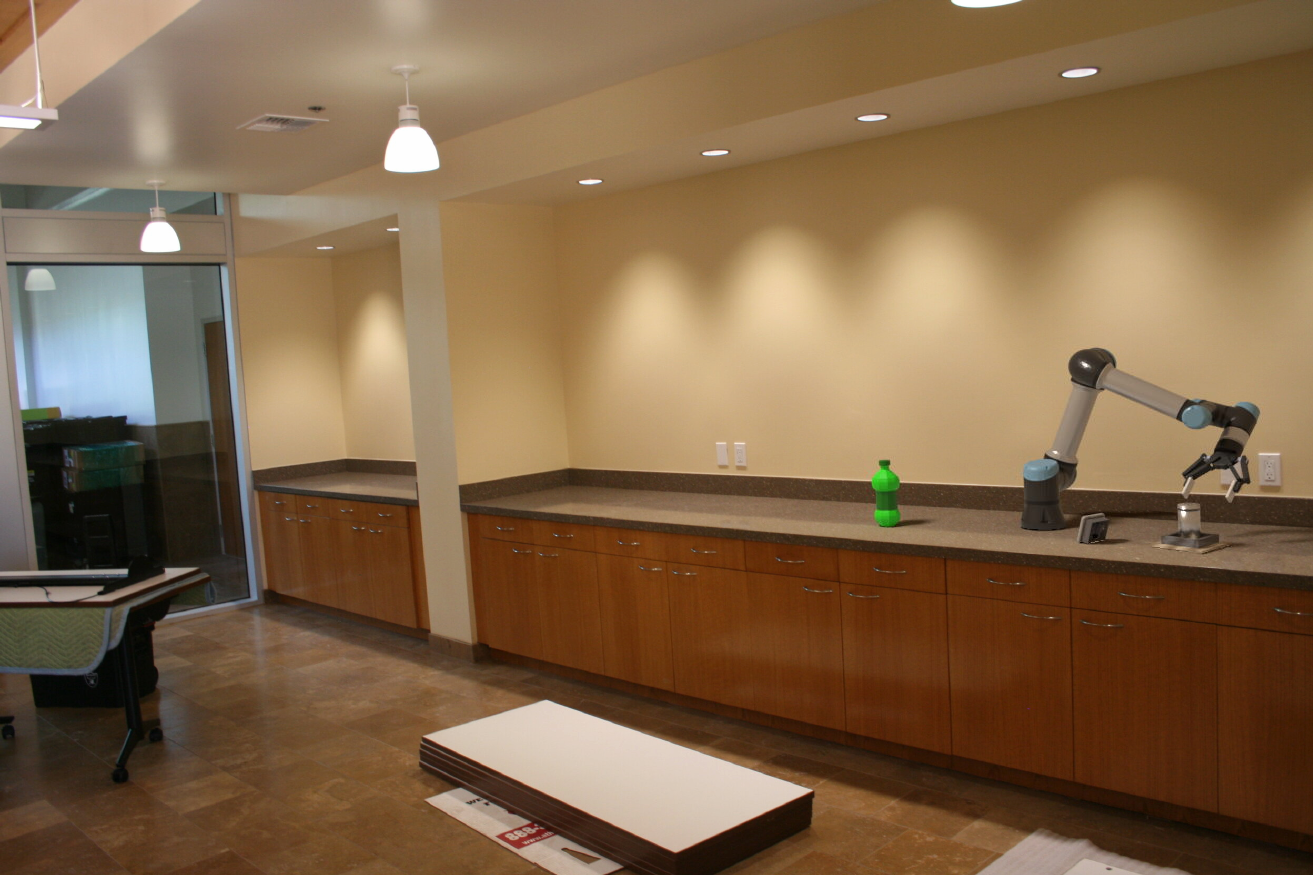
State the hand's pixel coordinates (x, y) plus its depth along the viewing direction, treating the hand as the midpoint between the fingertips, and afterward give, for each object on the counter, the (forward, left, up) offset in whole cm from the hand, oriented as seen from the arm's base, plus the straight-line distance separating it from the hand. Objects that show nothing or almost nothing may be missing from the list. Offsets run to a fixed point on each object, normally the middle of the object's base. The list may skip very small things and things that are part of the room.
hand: (1205, 497), depth 298 cm
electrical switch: (-25, -20, -14) cm, 35 cm away
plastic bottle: (-99, -38, -14) cm, 107 cm away
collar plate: (0, -9, -14) cm, 16 cm away
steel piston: (0, -9, -13) cm, 16 cm away
